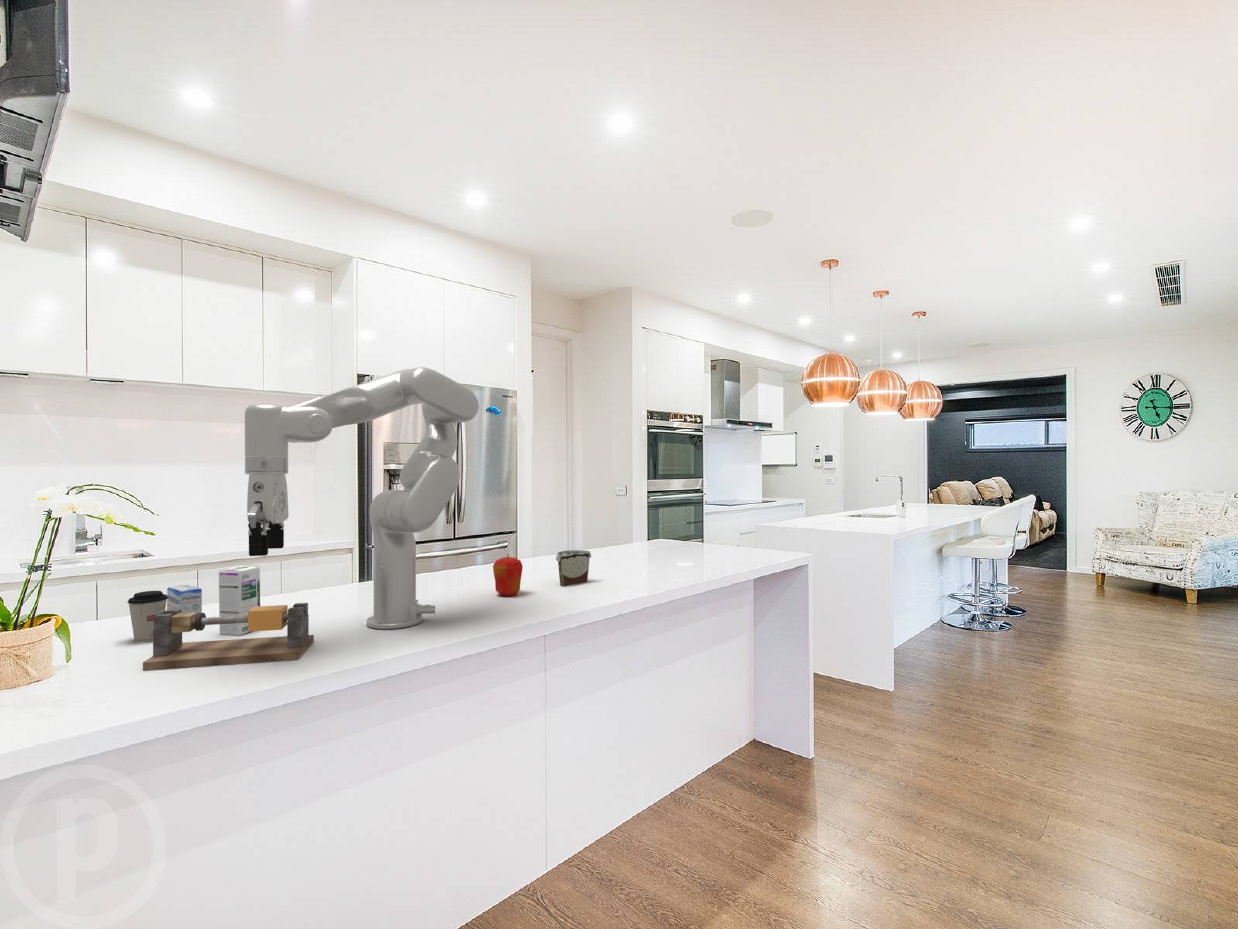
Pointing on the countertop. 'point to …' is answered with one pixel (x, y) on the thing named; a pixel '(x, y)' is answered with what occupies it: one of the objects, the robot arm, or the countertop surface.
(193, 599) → the medicine box
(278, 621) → the sleeve
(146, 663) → the rail
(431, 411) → the robot arm
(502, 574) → the apple
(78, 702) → the countertop surface
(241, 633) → the syrup box
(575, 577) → the food container
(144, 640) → the black-capped travel mug
